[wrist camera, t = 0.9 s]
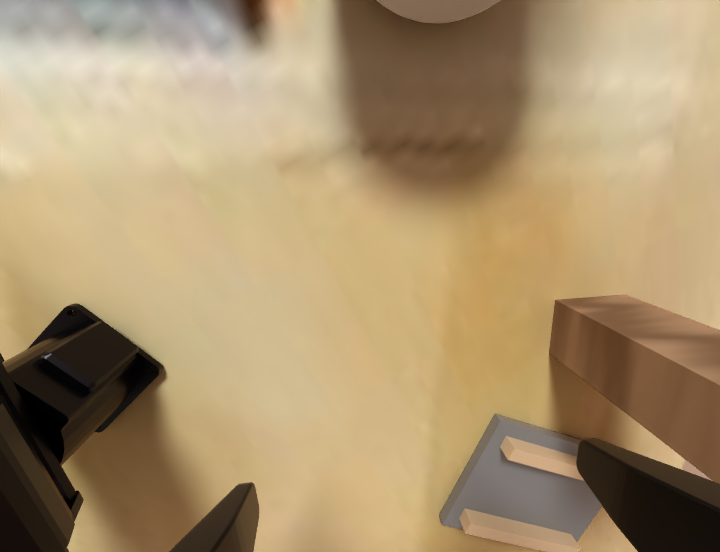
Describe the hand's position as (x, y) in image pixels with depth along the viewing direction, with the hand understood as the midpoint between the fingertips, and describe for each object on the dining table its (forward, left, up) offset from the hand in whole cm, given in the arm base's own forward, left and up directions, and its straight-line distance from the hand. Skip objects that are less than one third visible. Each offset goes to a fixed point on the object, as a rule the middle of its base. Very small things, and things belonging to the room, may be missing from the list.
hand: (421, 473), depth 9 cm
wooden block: (+10, -12, -13) cm, 20 cm away
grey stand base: (-1, -20, -13) cm, 24 cm away
